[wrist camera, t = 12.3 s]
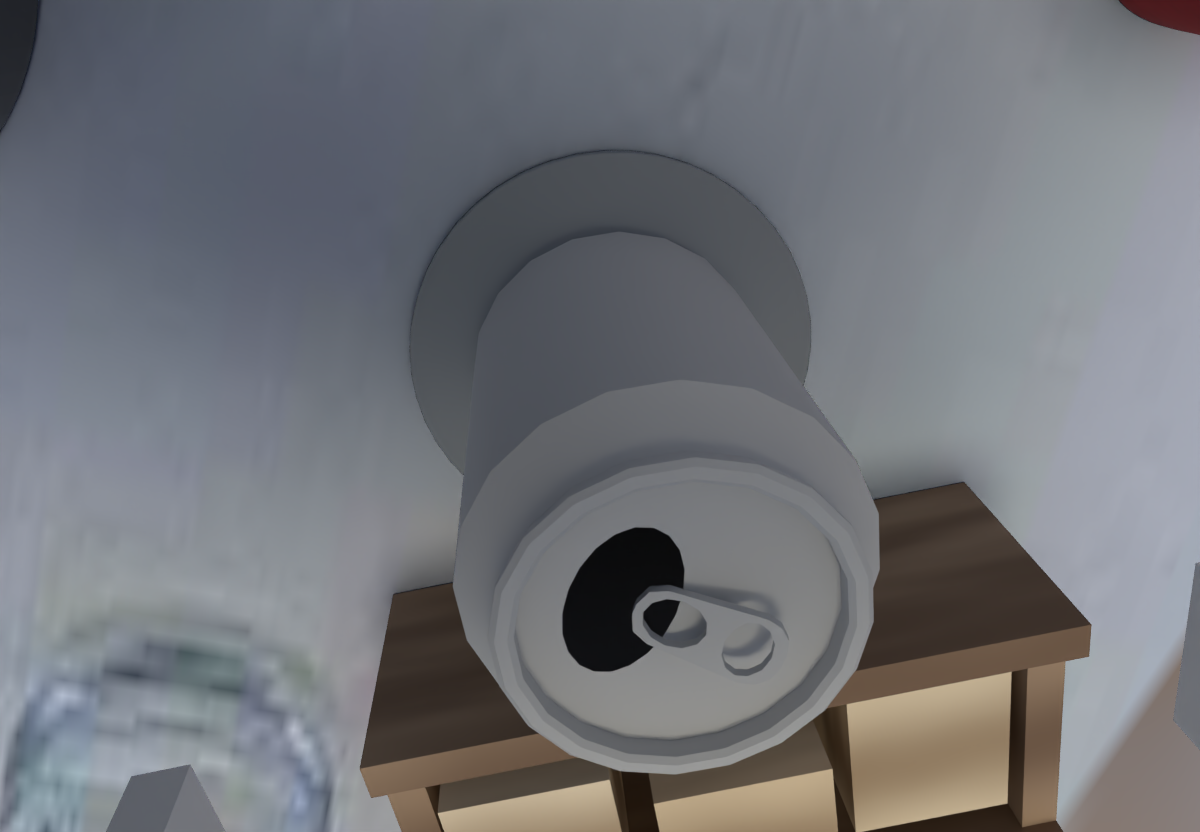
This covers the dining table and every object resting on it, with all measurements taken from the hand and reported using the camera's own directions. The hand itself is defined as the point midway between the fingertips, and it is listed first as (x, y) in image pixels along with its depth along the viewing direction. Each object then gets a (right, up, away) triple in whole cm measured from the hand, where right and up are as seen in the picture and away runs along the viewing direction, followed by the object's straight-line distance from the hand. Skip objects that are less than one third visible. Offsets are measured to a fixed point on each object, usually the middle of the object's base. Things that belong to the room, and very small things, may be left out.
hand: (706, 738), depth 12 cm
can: (-1, +6, +13) cm, 15 cm away
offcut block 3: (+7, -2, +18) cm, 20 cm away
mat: (-1, +6, +14) cm, 15 cm away
